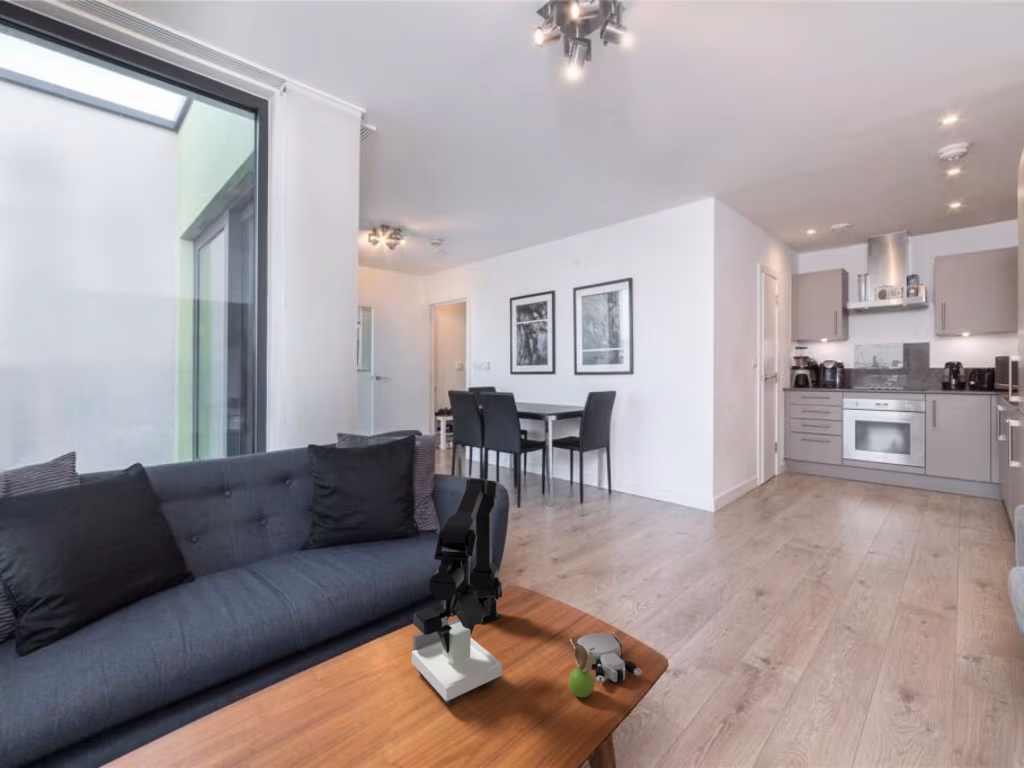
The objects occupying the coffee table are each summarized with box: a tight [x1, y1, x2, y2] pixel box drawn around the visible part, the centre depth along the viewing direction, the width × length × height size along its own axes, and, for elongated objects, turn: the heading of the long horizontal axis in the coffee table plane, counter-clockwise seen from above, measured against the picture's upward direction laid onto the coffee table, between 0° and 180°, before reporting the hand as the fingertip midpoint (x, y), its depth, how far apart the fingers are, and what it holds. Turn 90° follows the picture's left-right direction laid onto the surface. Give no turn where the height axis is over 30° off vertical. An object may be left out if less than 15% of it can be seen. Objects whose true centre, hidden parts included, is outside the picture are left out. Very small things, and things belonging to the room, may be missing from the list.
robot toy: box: [569, 631, 643, 684], centre depth 110 cm, size 12×4×15 cm
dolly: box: [411, 618, 503, 707], centre depth 105 cm, size 17×14×8 cm
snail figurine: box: [568, 645, 595, 699], centre depth 99 cm, size 5×6×12 cm
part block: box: [443, 622, 472, 664], centre depth 104 cm, size 4×4×6 cm
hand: (456, 648), depth 104 cm, fingers closed on part block, 4 cm apart
